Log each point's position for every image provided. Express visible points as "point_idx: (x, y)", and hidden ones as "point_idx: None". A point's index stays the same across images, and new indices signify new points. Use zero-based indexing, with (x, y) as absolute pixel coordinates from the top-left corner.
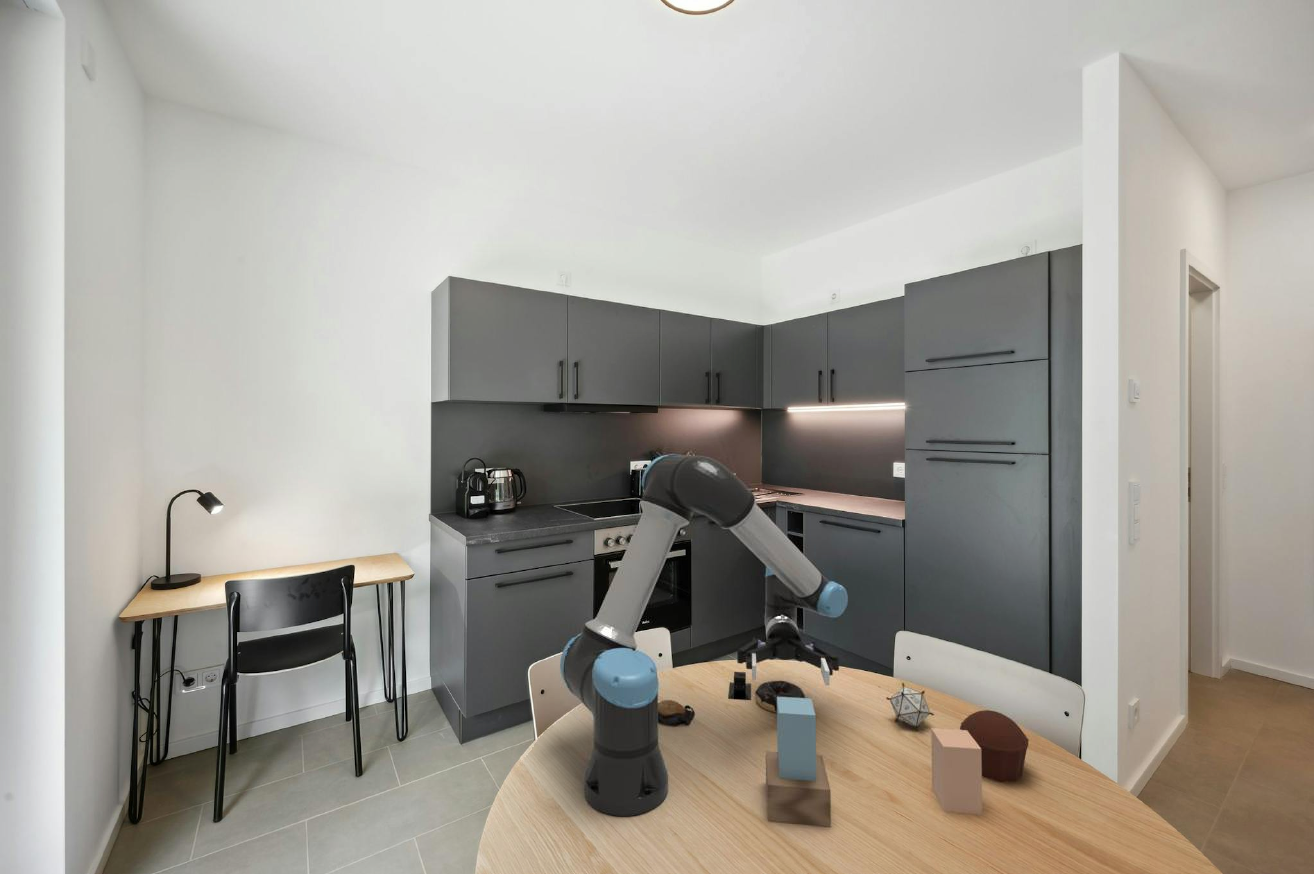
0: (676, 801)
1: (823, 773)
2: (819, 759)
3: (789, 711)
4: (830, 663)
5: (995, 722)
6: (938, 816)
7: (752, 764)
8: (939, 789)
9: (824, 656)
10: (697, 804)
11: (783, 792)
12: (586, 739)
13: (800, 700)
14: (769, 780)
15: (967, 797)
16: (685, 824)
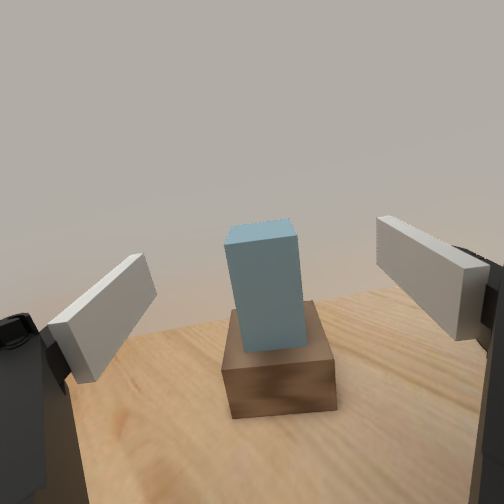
0: (457, 343)
1: (232, 331)
2: (229, 359)
3: (271, 222)
4: (45, 329)
5: None
6: (86, 394)
7: (391, 479)
8: None
9: (10, 357)
10: (423, 344)
11: None
12: None
13: (248, 238)
14: (311, 305)
15: None
16: (412, 317)
